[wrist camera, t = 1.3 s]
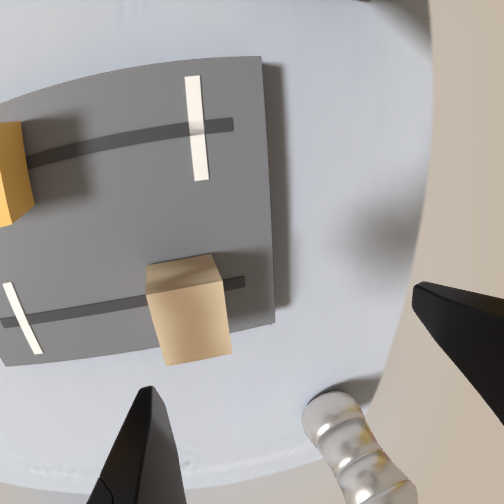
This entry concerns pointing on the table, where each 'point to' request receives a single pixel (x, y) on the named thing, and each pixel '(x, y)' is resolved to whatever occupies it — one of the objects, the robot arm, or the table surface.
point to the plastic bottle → (355, 452)
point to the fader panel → (135, 204)
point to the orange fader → (13, 175)
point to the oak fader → (188, 309)
